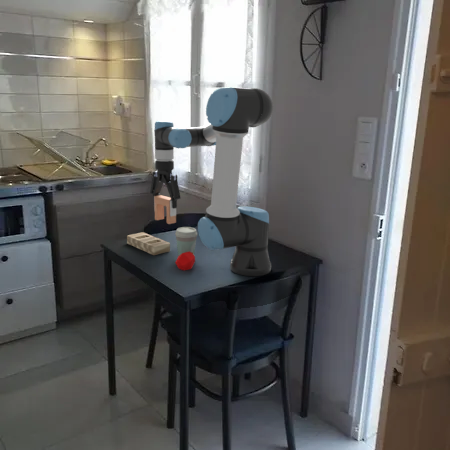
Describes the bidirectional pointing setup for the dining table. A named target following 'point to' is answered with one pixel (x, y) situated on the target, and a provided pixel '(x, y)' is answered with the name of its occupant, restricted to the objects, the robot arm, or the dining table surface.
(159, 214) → the clip
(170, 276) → the dining table surface
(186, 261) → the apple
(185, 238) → the coffee cup
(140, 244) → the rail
